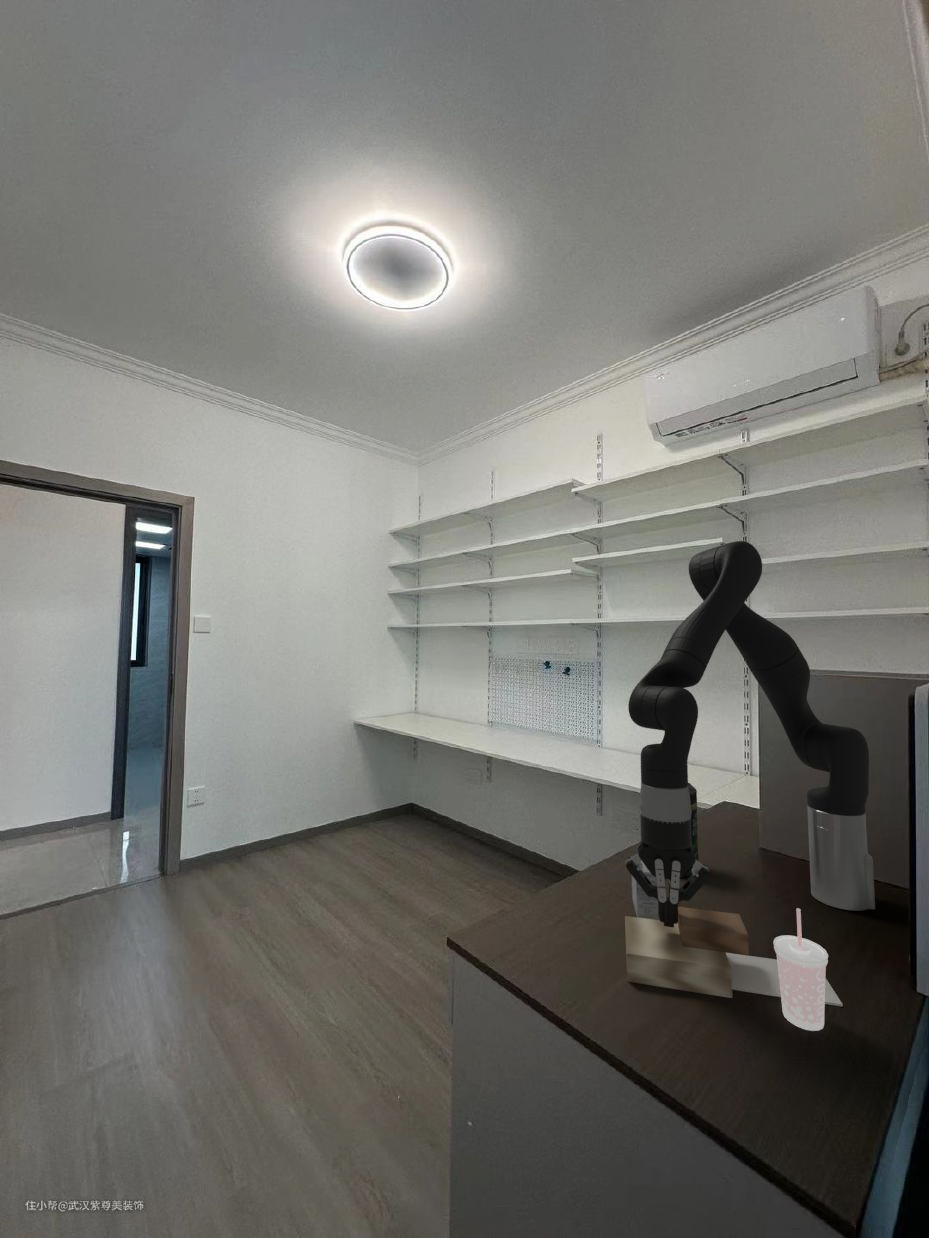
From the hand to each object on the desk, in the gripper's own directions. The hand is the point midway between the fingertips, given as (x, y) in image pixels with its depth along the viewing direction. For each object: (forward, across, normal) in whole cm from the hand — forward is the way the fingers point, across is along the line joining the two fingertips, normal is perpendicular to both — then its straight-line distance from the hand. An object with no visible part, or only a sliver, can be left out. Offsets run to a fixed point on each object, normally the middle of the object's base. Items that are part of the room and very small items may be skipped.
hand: (668, 924), depth 82 cm
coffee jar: (+6, -5, -36) cm, 37 cm away
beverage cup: (+6, -16, +9) cm, 19 cm away
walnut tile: (+1, -6, 0) cm, 6 cm away
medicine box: (+6, +2, -15) cm, 16 cm away
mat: (+5, -15, +1) cm, 16 cm away
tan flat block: (+5, -1, +2) cm, 6 cm away
